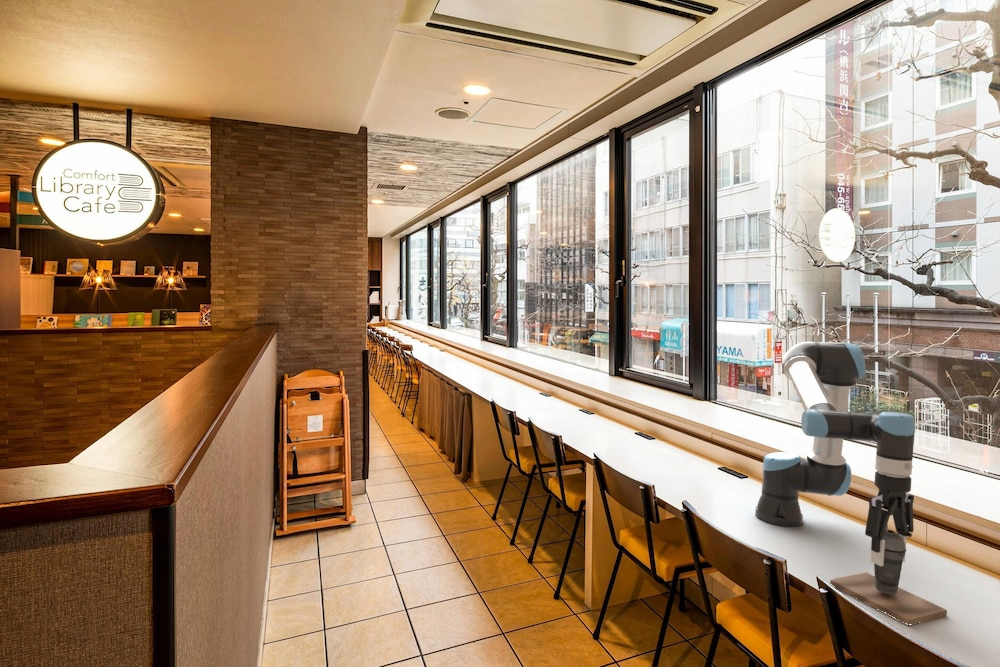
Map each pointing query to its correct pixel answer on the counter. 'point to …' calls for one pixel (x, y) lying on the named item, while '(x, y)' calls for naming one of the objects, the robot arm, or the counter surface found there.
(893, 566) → the beverage cup
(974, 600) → the counter surface
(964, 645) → the counter surface
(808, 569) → the counter surface
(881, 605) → the serving board
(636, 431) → the counter surface
